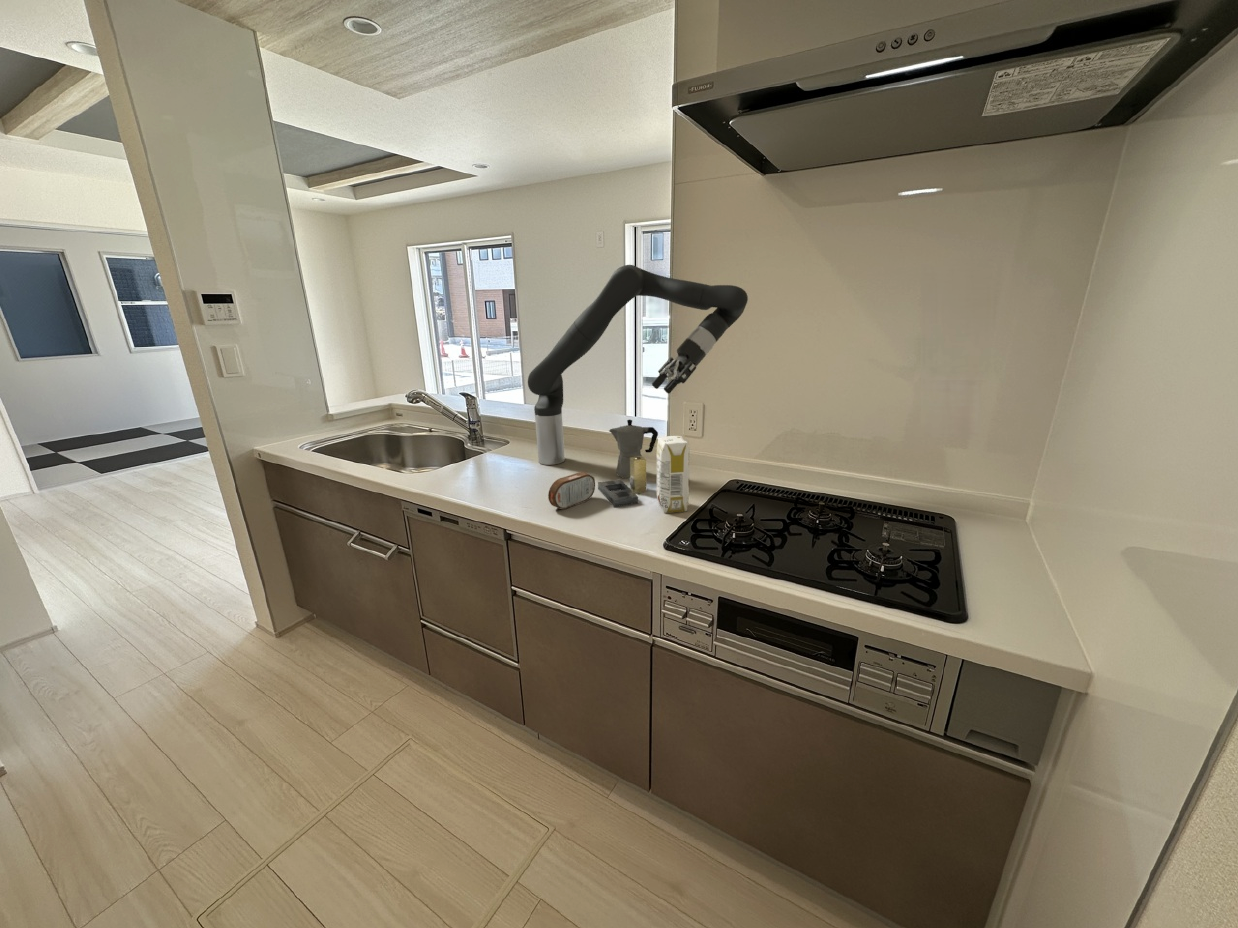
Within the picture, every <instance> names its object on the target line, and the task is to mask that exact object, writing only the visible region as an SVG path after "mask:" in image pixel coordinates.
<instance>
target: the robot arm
mask: <svg viewBox="0 0 1238 928" xmlns="http://www.w3.org/2000/svg"><path fill="white" fill-rule="evenodd" d="M637 296H638V297H639V296H640V297H652V298H658V299H661V300H665V301H669V302H671V303H674V304H676V305H680V306H682V307H687V308H692V309H696V310H699V311H700V310H701V311H709V310H710V309H711V308H715V310H713V312H711V313H709V314H708V315H706V316H705V318H703V320H702V321H701V322H700V323H699V324H698V326H697V327H696V328H695V329H694V330H692V331H691V332H690V334H689V335H688V336H687V337H686V338H685V340H683V342H682V343H681V344H680V345H679V347H678V348H677V349H676V353H677V357H676V358H673V357H672V356H671V357H669V358H668V359H667V361H665V363H664V364H663V365H662V366H661V367H660V369H658V370H657V372H658V373H659V375H658V376H657V377H656V378H655V380H654V381H653V382H652V383H651V385H652V387H653V388H654V389H656V390H658V389H659V388H660V387H661V385H662V384H663V383H664V382H665V381H666V380H667V379H668V378H669V377H671V379H670V380H669V381H668V383H667V384H666V385H665V386H664V387H663V391H665V392H666V394H671V393H672V392H673V390H674V389H675V388H677V386H678V385H680V384H685V383H686V382H687V380H688V379H689V378H690V377H691V375H692V374H693V373H694V372H695V370H696V369H697V367H698V365H700V363H702V361H703V360H704V358H705V357H706V356H707V355H708V354H709V353H710V352H711V350H712V349H713V347H714V346H715V344H716V343H717V342H718V341H719V339H720V338H721V337H722V336H723V335H724V334H725V333H726V331H727V330H728V329H729V328H730V327H731V326H732V325H733V324H734V323H736V322H737V320H738V319H739V318H740V317H741V316H742V315H743V313H744V311H745V309H746V306H747V304H748V302H749V301H748V300H749V297H748V293H747V292H746V290H745V289H744V288H742V287H740V286H736V285H732V284H729V285H728V284H716V285H710V284H707V283H706V284H705V283H701V282H697V281H696V282H695V281H690V280H684V279H678V278H672V277H667V276H664V275H660V274H656V273H654V272H653V273H652V272H651V271H647V270H645V269H643V268H640V267H638V266H636V265H634V264H626V265H622V266H620V267H618V268H617V269H616V270H615V271H614V272H613V273H612V275H611V276H610V278H609V279H608V281H607V283H606V284H605V286H604V287H603V289H602V290H601V291H600V293H599V294H598V296H597V297H596V298H595V299H594V301H593V302H592V303H591V304H590V305H588V306H587V307H586V308H585V309H584V310H583V311H582V312H581V313H580V315H579V316H577V317H576V319H575V320H574V321H573V322H572V324H571V325H570V326H569V328H567V330H566V331H565V333H564V334H563V335H562V336H561V338H560V339H559V340H558V341H557V343H556V344H555V345H554V346H553V348H552V350H550V352H549V353H548V354H547V355H546V356H545V358H543V360H542V361H540V363H538V364H537V365H536V366H535V367H534V368H533V369H532V370H531V371H530V373H529V375H528V377H527V386H528V387H527V388H528V390H529V391H530V392H531V393H533V394H534V395H536V396H537V395H538V399H537V402H536V404H535V405H534V407H533V408H534V421H535V422H534V423H535V433H536V435H535V436H536V444H537V447H536V448H537V459H538V461H537V462H538V463H539V464H541V465H546V466H549V465H550V466H551V465H559V464H562V463H563V462H565V442H564V440H565V439H564V428H563V413H562V408H563V405H564V381H563V375H562V374H563V373H564V372H565V371H566V370H567V369H568V368H569V367H570V366H572V365H573V364H575V362H577V361H579V360H580V359H581V358H582V357H583V356H585V355H586V354H587V353H588V352H589V351H590V350H592V348H593V347H594V345H596V343H597V342H598V341H599V340H600V339H601V337H602V336H603V334H604V333H605V332H606V330H607V328H608V327H609V325H610V323H611V321H612V320H613V318H614V317H616V315H617V313H619V312H620V310H622V309H623V308H624V307H625V306H626V305H627V304H628V303H629V302H630V301H631V300H633V299H634V298H635V297H637Z"/></svg>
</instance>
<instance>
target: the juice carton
mask: <svg viewBox="0 0 1238 928" xmlns="http://www.w3.org/2000/svg"><path fill="white" fill-rule="evenodd" d="M657 438H658V439H657V444H656V499H657V503H658V505H659V506H660V507H661V509H662V512H663V513H664V514H671V513H682V512H687V511H688V505H689V499H690V498H689V496H690V494H689V493H690V463H691V461H690V460H691V459H690V458H691V457H690V454H691V453H690V446H689V445H690V444H689V442H688V441H686V440H684V438H683V436H682V435H669V436H659V437H658V436H657Z"/></svg>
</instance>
